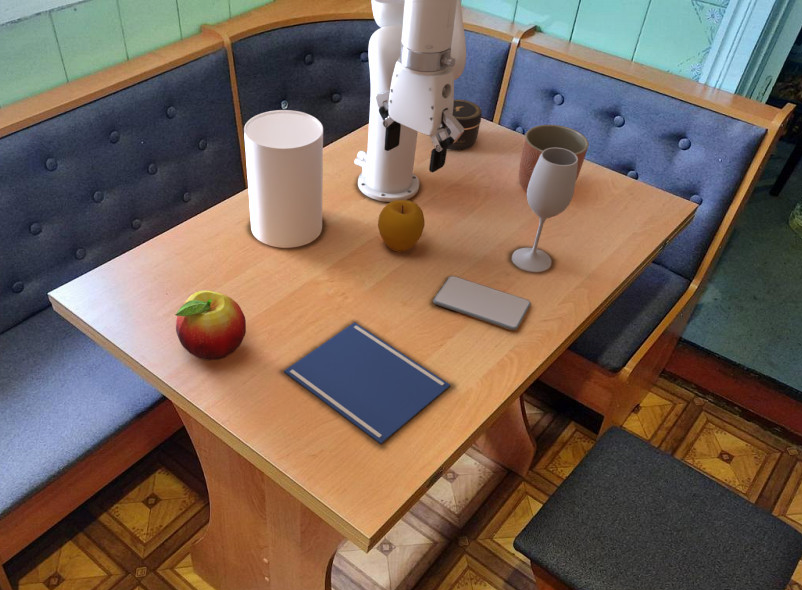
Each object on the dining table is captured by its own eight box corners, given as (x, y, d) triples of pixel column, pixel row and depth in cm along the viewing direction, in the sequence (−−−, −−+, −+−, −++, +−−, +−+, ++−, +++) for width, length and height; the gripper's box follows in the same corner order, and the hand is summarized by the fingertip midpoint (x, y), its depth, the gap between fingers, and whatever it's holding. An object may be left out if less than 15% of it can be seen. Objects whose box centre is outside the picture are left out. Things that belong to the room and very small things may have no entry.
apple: (398, 226, 140) (402, 186, 133) (431, 246, 136) (437, 205, 129) (367, 244, 136) (370, 203, 129) (400, 265, 131) (405, 223, 125)
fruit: (259, 354, 114) (256, 306, 107) (196, 380, 110) (188, 331, 103) (229, 315, 121) (223, 267, 113) (168, 338, 116) (158, 290, 109)
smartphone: (450, 274, 129) (532, 300, 124) (449, 278, 129) (531, 304, 124) (431, 300, 123) (516, 329, 119) (431, 304, 124) (515, 333, 119)
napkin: (283, 372, 112) (283, 370, 112) (354, 323, 120) (354, 321, 120) (380, 444, 103) (381, 442, 102) (450, 386, 111) (450, 384, 110)
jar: (430, 149, 161) (434, 117, 155) (434, 128, 168) (438, 96, 162) (475, 154, 160) (481, 121, 154) (477, 133, 167) (483, 100, 161)
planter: (517, 168, 156) (528, 120, 148) (576, 177, 154) (590, 129, 146) (511, 198, 148) (522, 149, 140) (572, 209, 146) (587, 159, 138)
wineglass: (552, 275, 131) (584, 171, 115) (509, 269, 131) (535, 165, 116) (552, 251, 136) (582, 148, 121) (511, 245, 137) (536, 142, 121)
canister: (280, 256, 132) (276, 157, 118) (237, 223, 139) (228, 125, 125) (336, 229, 139) (339, 131, 124) (292, 199, 145) (290, 103, 131)
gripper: (486, 66, 108) (468, 169, 120) (397, 32, 116) (389, 133, 128) (455, 81, 104) (440, 186, 116) (365, 45, 112) (360, 147, 124)
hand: (413, 158), depth 122 cm, fingers open, 9 cm apart
